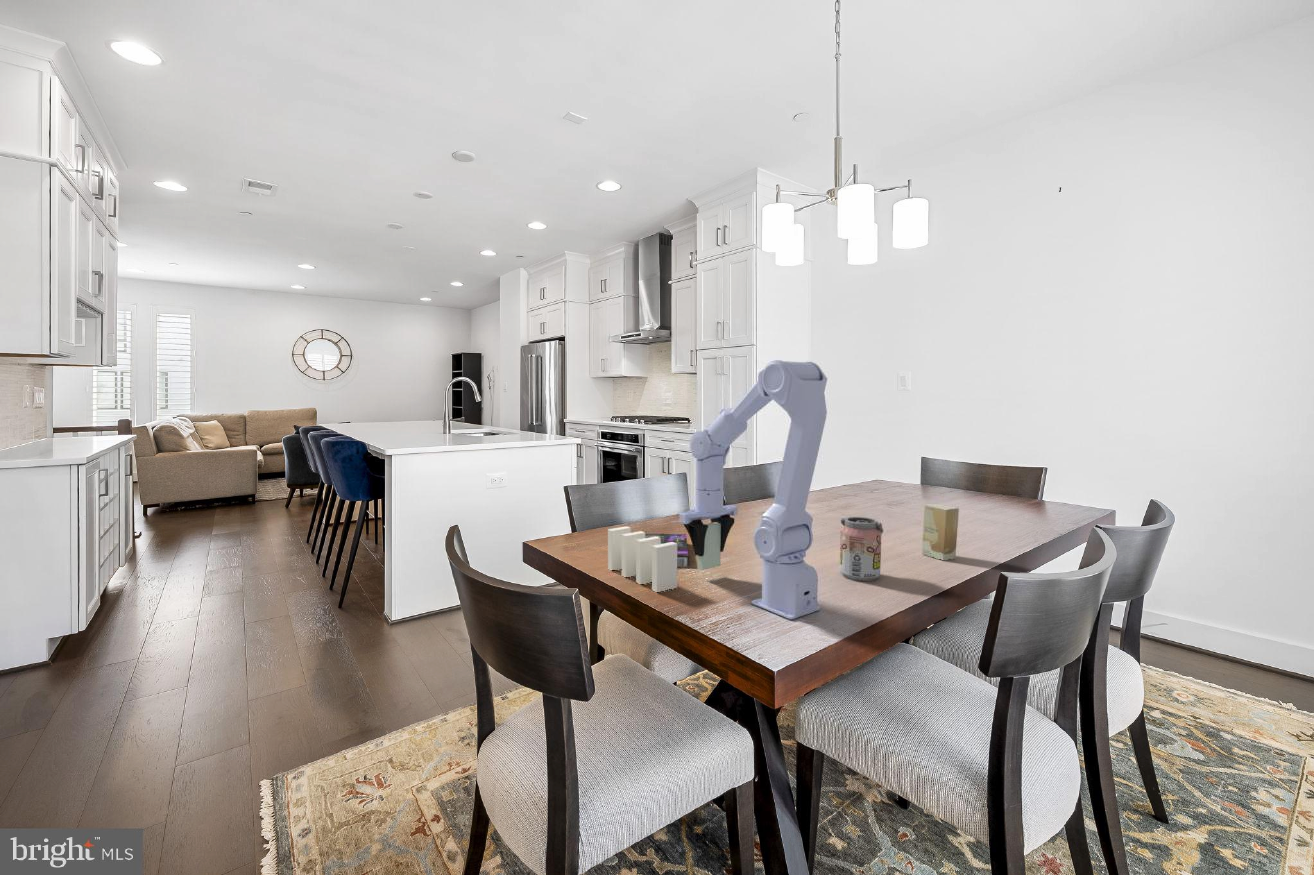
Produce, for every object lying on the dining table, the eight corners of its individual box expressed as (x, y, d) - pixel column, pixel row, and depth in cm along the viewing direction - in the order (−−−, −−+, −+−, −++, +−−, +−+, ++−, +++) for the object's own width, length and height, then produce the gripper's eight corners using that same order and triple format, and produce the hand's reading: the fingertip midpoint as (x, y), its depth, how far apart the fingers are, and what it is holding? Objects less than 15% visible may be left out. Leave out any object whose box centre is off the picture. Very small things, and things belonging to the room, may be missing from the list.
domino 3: (660, 580, 115) (660, 537, 115) (640, 585, 112) (640, 541, 112) (656, 578, 117) (655, 536, 116) (636, 583, 114) (636, 539, 113)
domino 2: (645, 573, 120) (645, 532, 119) (625, 578, 117) (625, 536, 116) (641, 571, 121) (640, 531, 120) (621, 576, 118) (621, 534, 117)
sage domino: (720, 565, 118) (720, 523, 118) (702, 569, 115) (702, 526, 115) (715, 563, 119) (715, 522, 119) (697, 568, 117) (697, 525, 116)
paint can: (845, 566, 125) (846, 513, 124) (885, 572, 121) (887, 517, 120) (834, 577, 117) (835, 521, 116) (876, 584, 113) (878, 526, 112)
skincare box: (920, 554, 135) (922, 504, 134) (933, 552, 136) (935, 502, 135) (944, 561, 129) (946, 509, 128) (957, 559, 131) (959, 507, 130)
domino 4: (677, 588, 111) (677, 543, 110) (656, 593, 108) (656, 547, 107) (672, 585, 112) (672, 541, 112) (651, 591, 109) (651, 545, 109)
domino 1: (631, 567, 124) (630, 527, 124) (611, 571, 121) (611, 530, 121) (627, 565, 126) (627, 526, 125) (608, 569, 123) (607, 529, 122)
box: (688, 570, 125) (686, 545, 144) (689, 555, 125) (687, 532, 144) (626, 569, 125) (632, 544, 145) (626, 553, 125) (633, 531, 145)
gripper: (721, 483, 124) (721, 543, 125) (670, 489, 115) (670, 554, 116) (744, 487, 118) (744, 550, 119) (692, 494, 109) (691, 562, 110)
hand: (709, 553), depth 117 cm, fingers closed on sage domino, 5 cm apart
